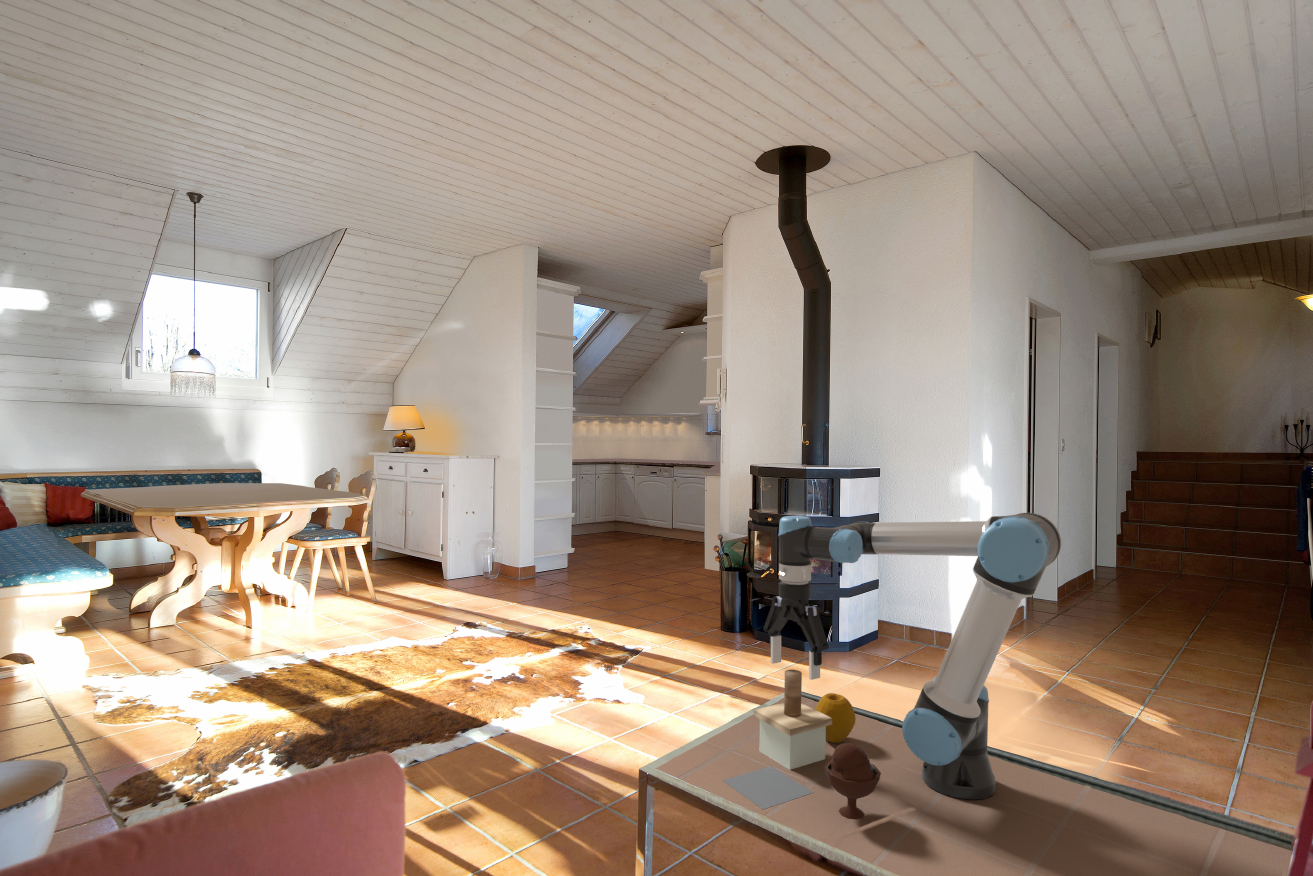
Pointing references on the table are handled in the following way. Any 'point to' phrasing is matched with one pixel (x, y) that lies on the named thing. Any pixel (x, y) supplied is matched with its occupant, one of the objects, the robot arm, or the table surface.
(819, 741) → the pale green open box
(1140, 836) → the table surface
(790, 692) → the lid
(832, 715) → the apple
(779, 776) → the mat
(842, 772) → the ice cream bowl
